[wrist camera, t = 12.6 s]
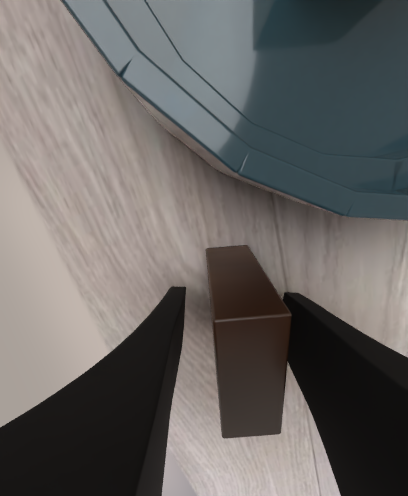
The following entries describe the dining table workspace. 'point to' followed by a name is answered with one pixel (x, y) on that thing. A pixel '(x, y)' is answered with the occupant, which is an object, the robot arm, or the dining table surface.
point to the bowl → (273, 90)
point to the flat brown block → (247, 343)
